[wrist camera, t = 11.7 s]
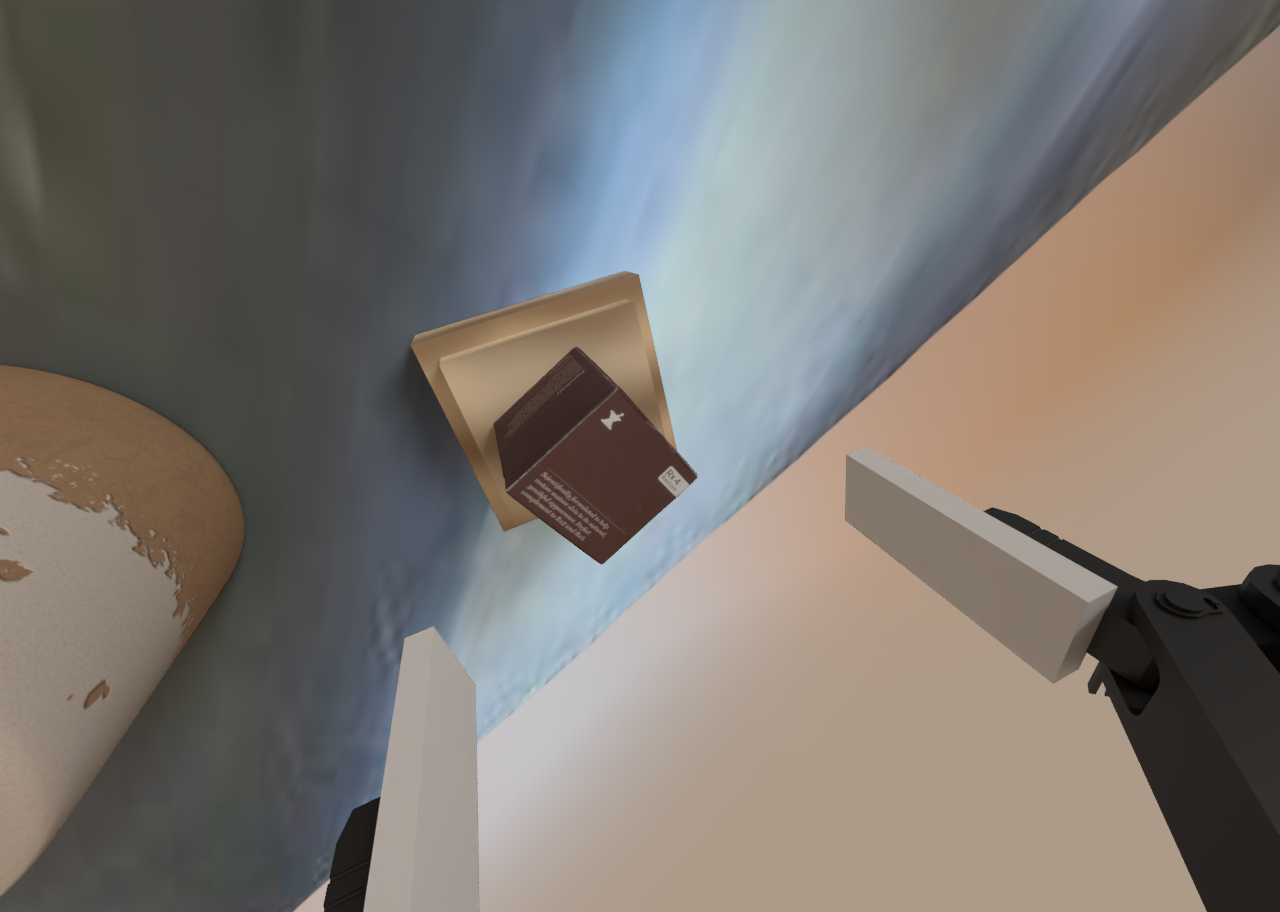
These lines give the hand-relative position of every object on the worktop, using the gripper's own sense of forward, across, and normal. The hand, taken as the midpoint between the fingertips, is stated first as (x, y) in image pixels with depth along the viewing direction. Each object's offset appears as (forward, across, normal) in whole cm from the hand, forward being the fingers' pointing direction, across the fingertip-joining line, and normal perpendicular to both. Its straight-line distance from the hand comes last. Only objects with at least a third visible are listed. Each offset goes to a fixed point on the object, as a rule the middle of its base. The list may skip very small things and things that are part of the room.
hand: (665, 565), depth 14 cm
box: (+13, 0, 0) cm, 13 cm away
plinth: (+17, 0, 0) cm, 17 cm away
